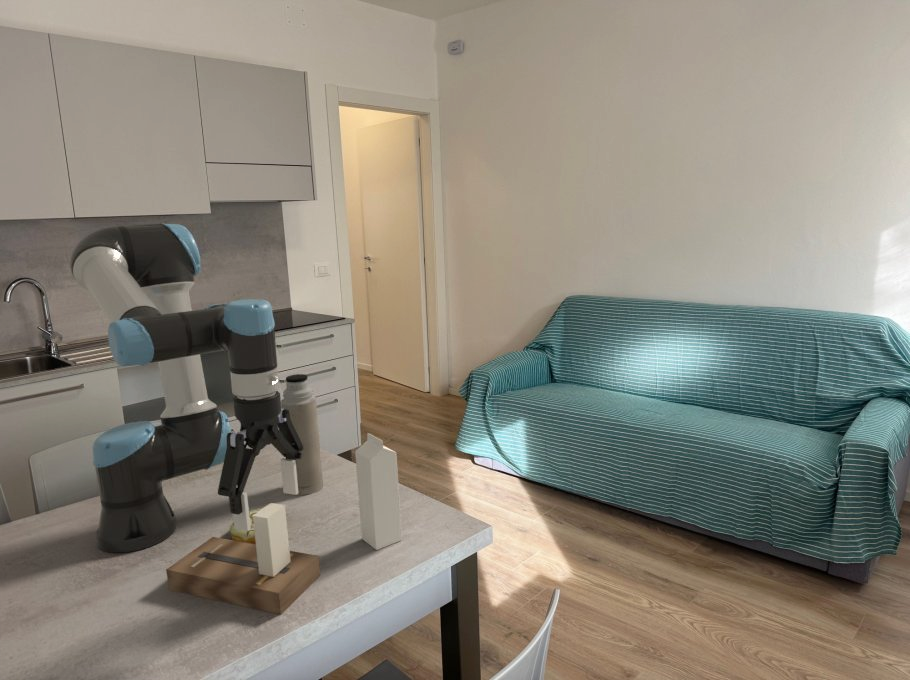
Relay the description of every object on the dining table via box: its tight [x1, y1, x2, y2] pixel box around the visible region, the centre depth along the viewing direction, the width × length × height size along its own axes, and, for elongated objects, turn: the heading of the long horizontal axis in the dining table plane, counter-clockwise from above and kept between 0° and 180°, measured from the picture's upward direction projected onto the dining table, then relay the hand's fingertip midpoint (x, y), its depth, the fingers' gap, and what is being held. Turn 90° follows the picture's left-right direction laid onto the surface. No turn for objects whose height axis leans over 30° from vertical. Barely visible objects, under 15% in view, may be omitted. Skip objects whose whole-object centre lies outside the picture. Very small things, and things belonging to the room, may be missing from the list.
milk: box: [355, 432, 403, 551], centre depth 128 cm, size 6×6×22 cm
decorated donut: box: [229, 508, 262, 544], centre depth 134 cm, size 10×11×4 cm
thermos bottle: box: [281, 373, 324, 496], centre depth 153 cm, size 8×8×28 cm
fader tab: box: [253, 502, 291, 577], centre depth 112 cm, size 3×5×11 cm, turn 159°
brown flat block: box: [165, 536, 321, 615], centre depth 116 cm, size 24×12×4 cm, turn 69°
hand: (268, 510), depth 112 cm, fingers open, 13 cm apart
